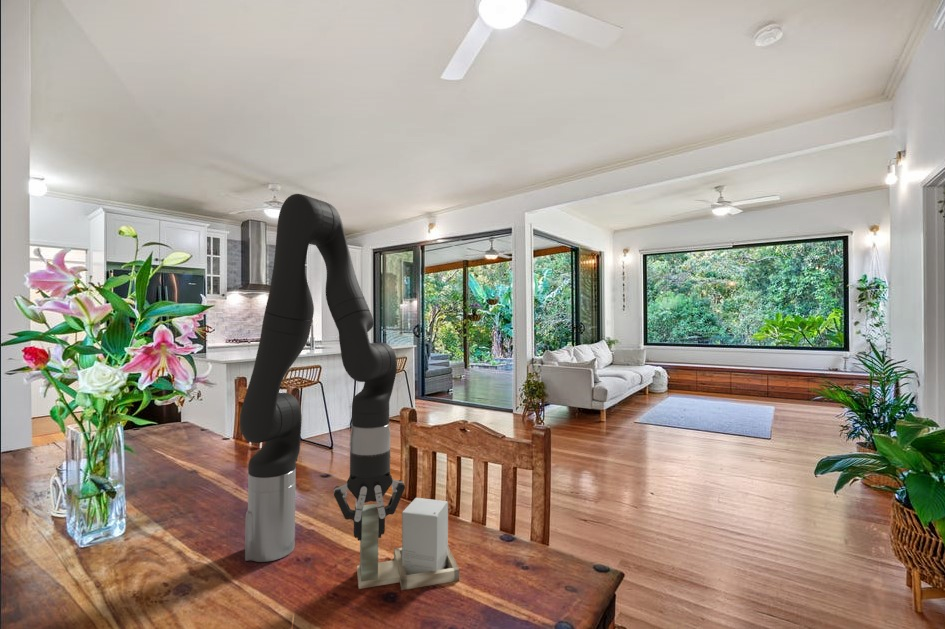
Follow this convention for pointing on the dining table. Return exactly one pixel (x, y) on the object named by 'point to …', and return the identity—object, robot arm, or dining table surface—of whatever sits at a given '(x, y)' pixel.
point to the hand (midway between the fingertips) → (369, 536)
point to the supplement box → (425, 536)
